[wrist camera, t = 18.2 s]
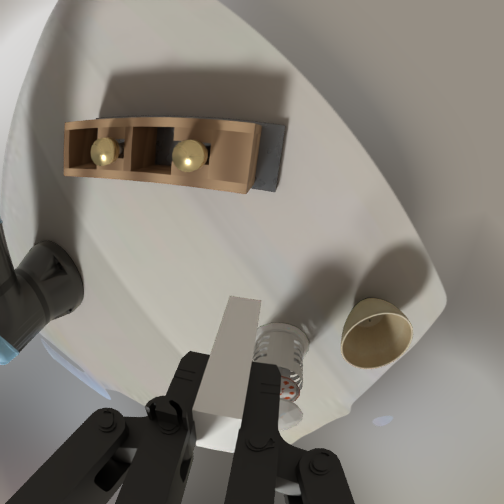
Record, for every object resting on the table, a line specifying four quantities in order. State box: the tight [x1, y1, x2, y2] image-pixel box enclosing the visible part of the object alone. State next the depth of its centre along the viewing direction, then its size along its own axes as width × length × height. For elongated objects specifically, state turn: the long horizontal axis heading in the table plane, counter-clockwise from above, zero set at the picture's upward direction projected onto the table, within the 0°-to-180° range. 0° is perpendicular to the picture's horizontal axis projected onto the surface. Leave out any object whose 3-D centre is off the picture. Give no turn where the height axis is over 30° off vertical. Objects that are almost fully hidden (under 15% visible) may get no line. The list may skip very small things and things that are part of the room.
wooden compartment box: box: [64, 117, 262, 194], centre depth 29 cm, size 24×7×6 cm, turn 83°
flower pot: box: [341, 298, 413, 369], centre depth 35 cm, size 10×10×7 cm
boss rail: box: [91, 116, 285, 192], centre depth 28 cm, size 26×8×10 cm, turn 83°
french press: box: [252, 323, 309, 431], centre depth 32 cm, size 10×12×25 cm
